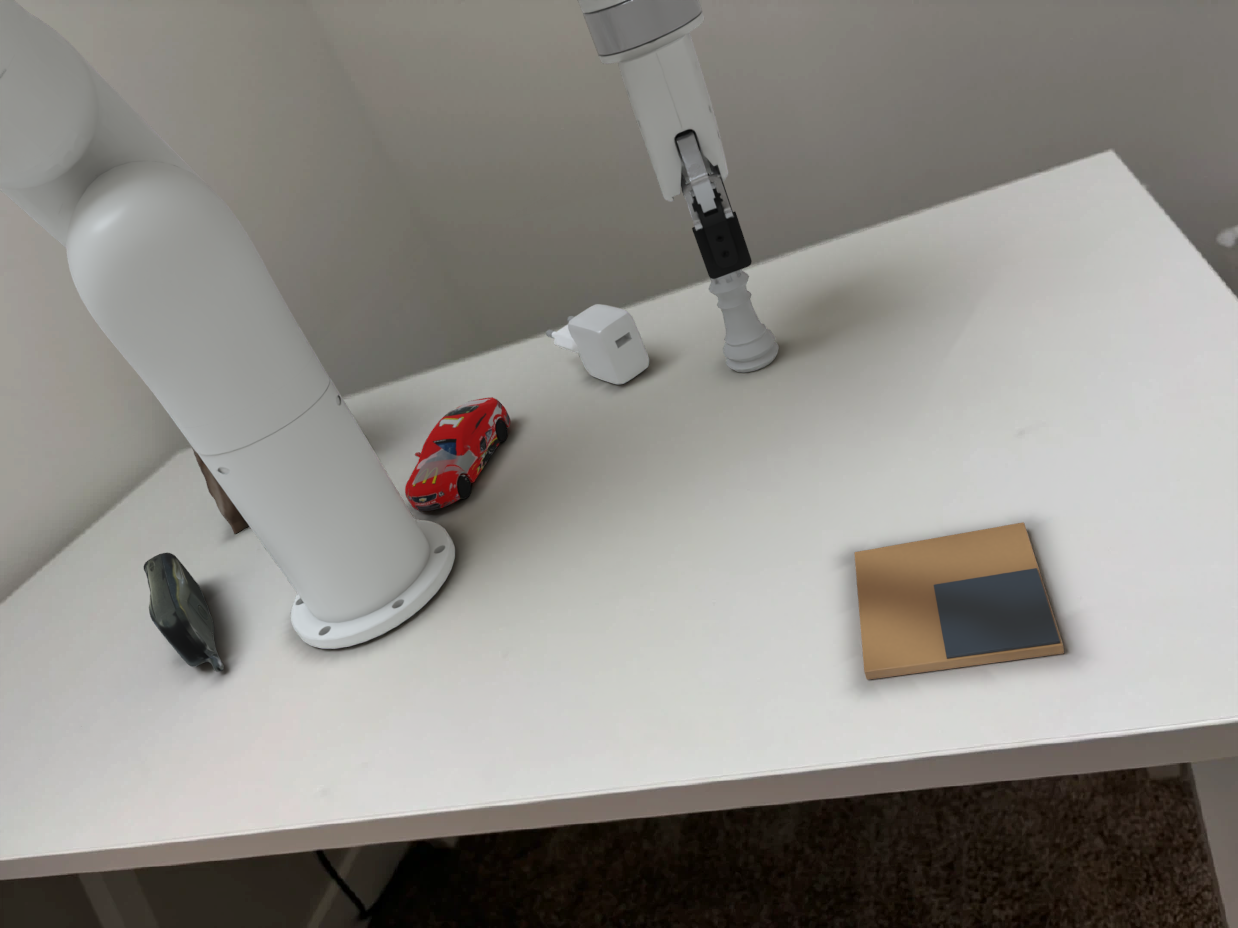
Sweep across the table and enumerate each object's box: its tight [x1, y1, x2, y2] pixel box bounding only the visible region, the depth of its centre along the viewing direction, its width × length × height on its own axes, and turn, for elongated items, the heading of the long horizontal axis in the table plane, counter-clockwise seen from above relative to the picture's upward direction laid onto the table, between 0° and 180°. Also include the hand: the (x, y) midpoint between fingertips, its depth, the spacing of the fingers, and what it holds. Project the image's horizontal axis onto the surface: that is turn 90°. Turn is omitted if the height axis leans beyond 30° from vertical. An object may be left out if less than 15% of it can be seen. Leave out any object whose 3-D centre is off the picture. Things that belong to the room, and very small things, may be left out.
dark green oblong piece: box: [143, 552, 225, 673], centre depth 72 cm, size 5×3×15 cm
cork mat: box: [853, 521, 1065, 681], centre depth 48 cm, size 9×9×1 cm
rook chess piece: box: [708, 269, 780, 373], centre depth 75 cm, size 4×4×8 cm
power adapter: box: [545, 303, 650, 385], centre depth 85 cm, size 11×5×6 cm, turn 36°
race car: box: [404, 396, 511, 512], centre depth 79 cm, size 13×5×4 cm, turn 161°
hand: (723, 247), depth 72 cm, fingers open, 9 cm apart
